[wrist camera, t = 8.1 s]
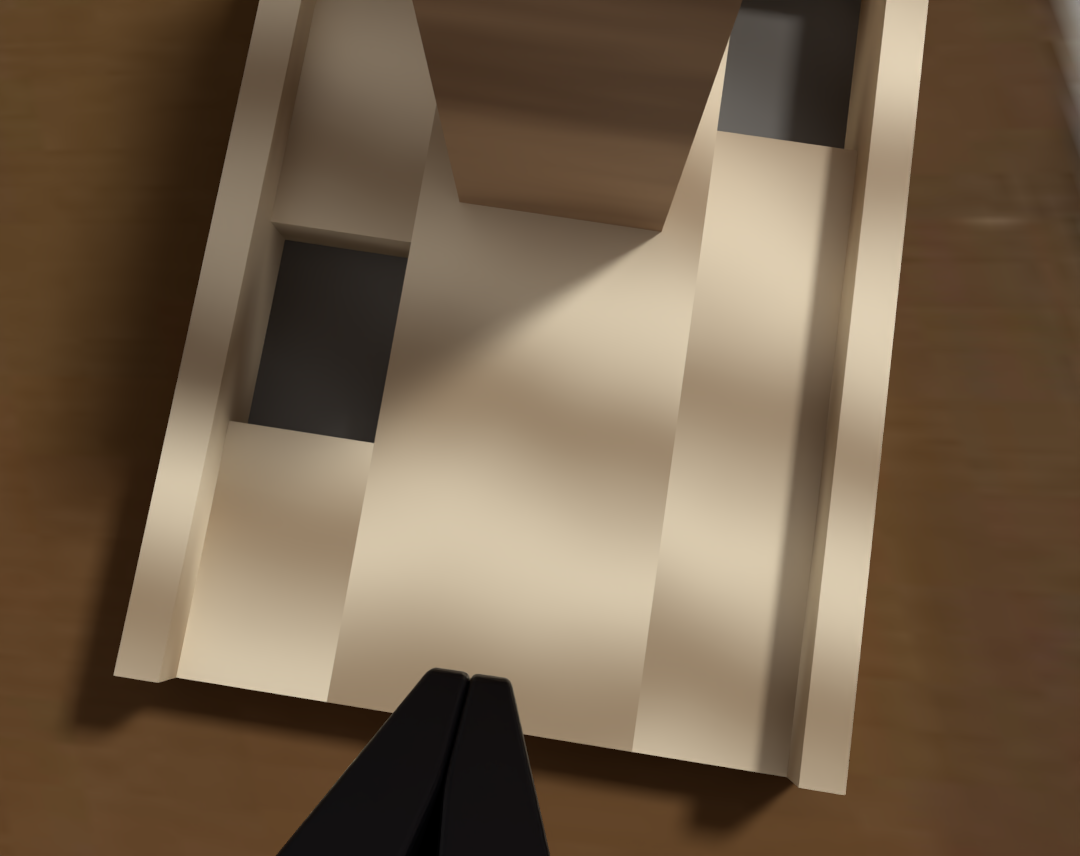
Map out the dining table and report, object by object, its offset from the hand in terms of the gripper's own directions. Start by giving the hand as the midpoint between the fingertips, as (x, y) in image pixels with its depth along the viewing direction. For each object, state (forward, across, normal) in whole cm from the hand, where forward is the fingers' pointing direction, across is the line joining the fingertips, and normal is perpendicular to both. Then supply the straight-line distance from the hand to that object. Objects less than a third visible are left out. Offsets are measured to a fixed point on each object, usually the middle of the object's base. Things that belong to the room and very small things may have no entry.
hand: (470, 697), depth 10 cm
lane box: (+17, +1, +2) cm, 17 cm away
